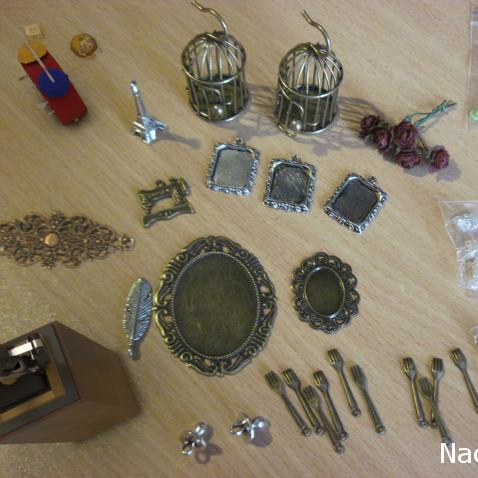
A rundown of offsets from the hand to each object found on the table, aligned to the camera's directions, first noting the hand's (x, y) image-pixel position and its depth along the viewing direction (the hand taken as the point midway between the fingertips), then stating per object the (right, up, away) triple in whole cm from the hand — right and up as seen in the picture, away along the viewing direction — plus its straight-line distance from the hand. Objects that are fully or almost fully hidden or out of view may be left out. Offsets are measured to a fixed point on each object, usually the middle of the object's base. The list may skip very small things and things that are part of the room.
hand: (17, 378), depth 71 cm
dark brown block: (0, 0, +1) cm, 1 cm away
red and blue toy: (-19, +47, +54) cm, 74 cm away
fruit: (-15, +61, +60) cm, 87 cm away
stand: (-3, -12, +34) cm, 37 cm away
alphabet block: (-28, +65, +60) cm, 93 cm away
